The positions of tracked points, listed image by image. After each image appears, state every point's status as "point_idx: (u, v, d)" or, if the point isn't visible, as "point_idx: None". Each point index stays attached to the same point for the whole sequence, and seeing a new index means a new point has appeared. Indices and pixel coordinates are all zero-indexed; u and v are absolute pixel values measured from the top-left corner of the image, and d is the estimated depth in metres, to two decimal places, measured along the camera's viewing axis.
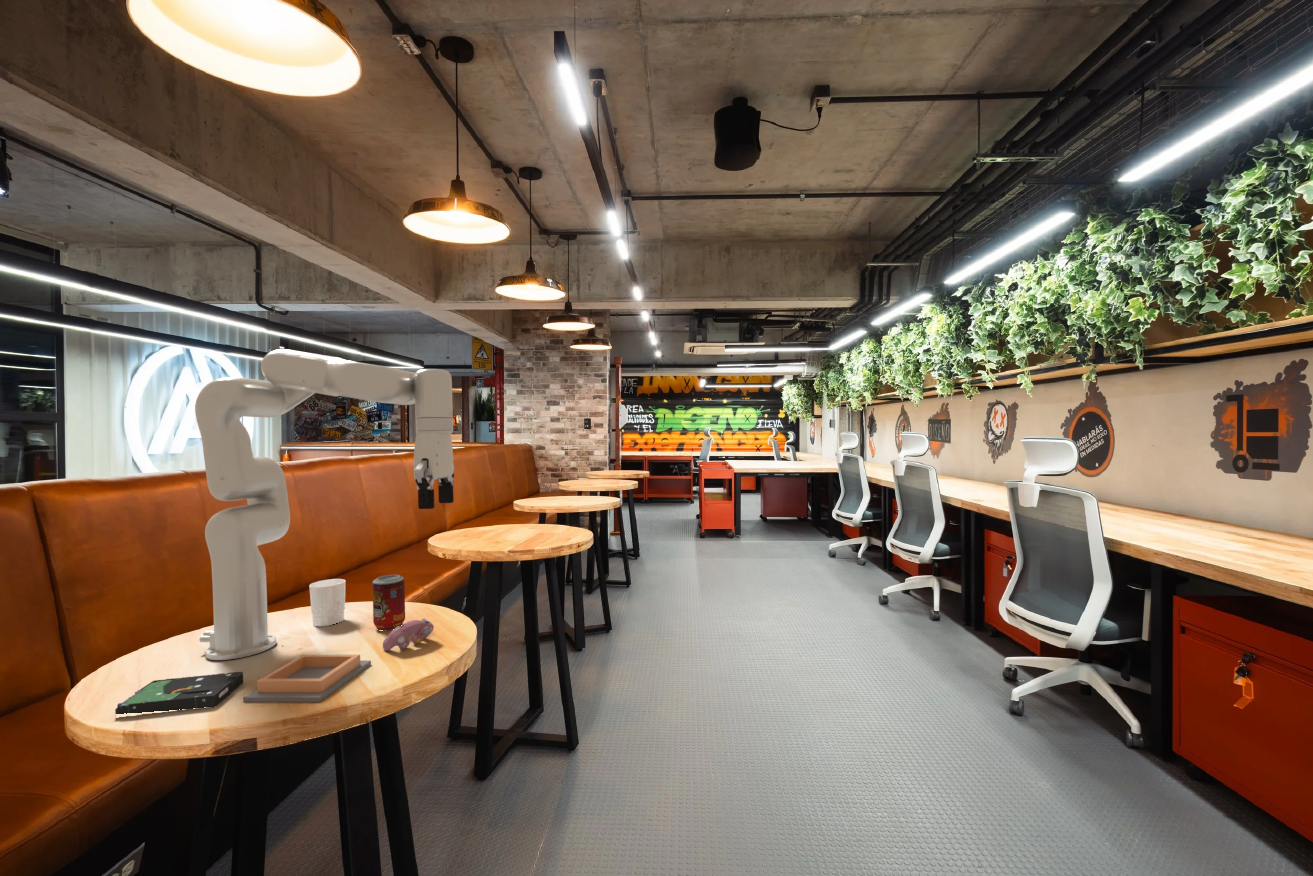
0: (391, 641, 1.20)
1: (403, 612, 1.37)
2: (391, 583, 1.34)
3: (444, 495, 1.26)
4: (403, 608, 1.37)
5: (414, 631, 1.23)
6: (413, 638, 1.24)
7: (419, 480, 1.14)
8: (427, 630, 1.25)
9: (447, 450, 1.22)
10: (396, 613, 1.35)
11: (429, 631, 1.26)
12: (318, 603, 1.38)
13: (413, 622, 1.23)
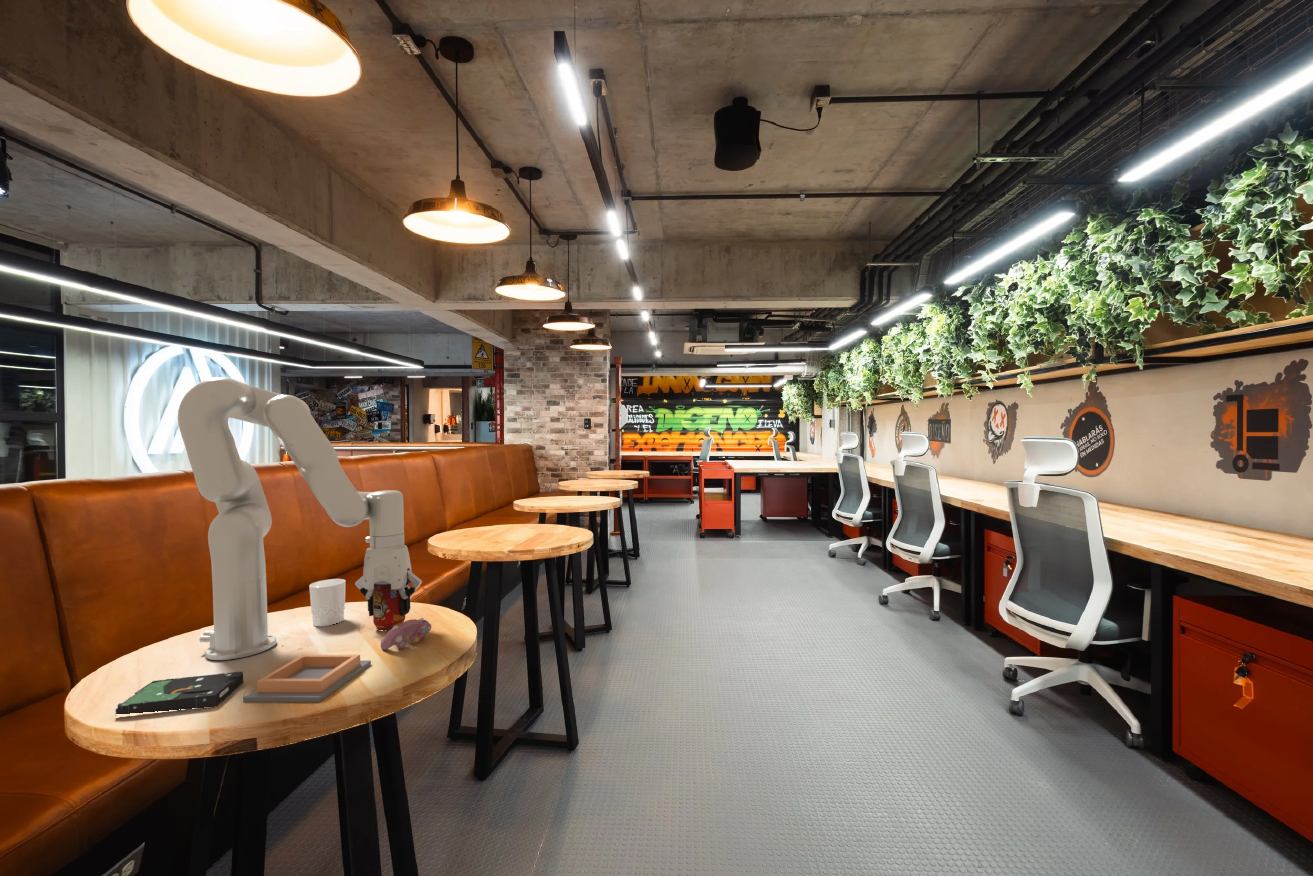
0: (389, 640, 1.20)
1: None
2: None
3: None
4: None
5: (412, 630, 1.24)
6: (411, 637, 1.25)
7: (415, 589, 1.36)
8: (425, 630, 1.26)
9: None
10: (396, 613, 1.35)
11: (427, 630, 1.26)
12: (318, 603, 1.38)
13: (411, 621, 1.24)
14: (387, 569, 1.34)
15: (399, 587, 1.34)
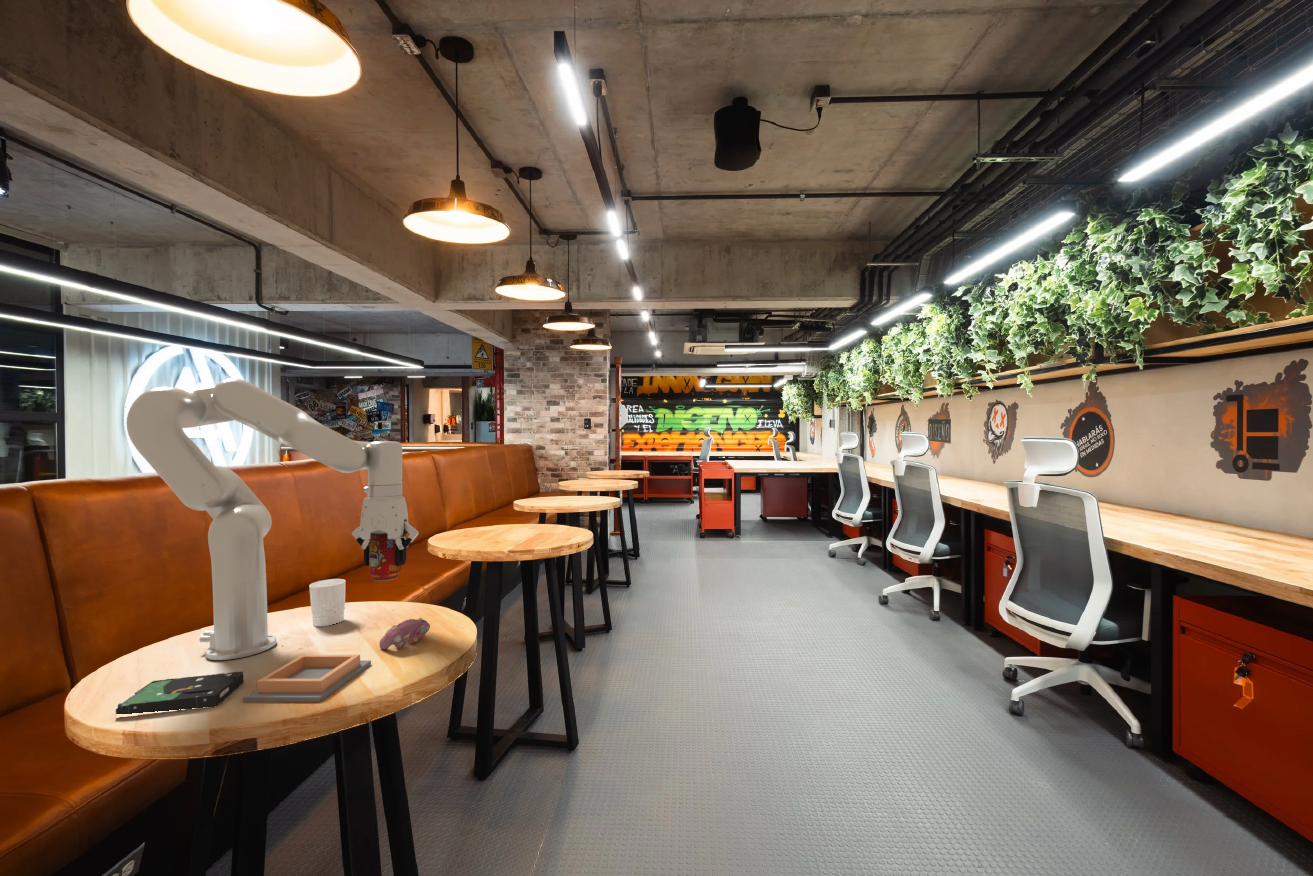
0: (388, 640, 1.20)
1: None
2: None
3: None
4: None
5: (411, 630, 1.24)
6: (410, 637, 1.25)
7: (412, 540, 1.36)
8: (424, 629, 1.26)
9: None
10: (392, 563, 1.34)
11: (426, 630, 1.27)
12: (318, 603, 1.38)
13: (410, 621, 1.24)
14: (384, 518, 1.34)
15: (396, 537, 1.33)
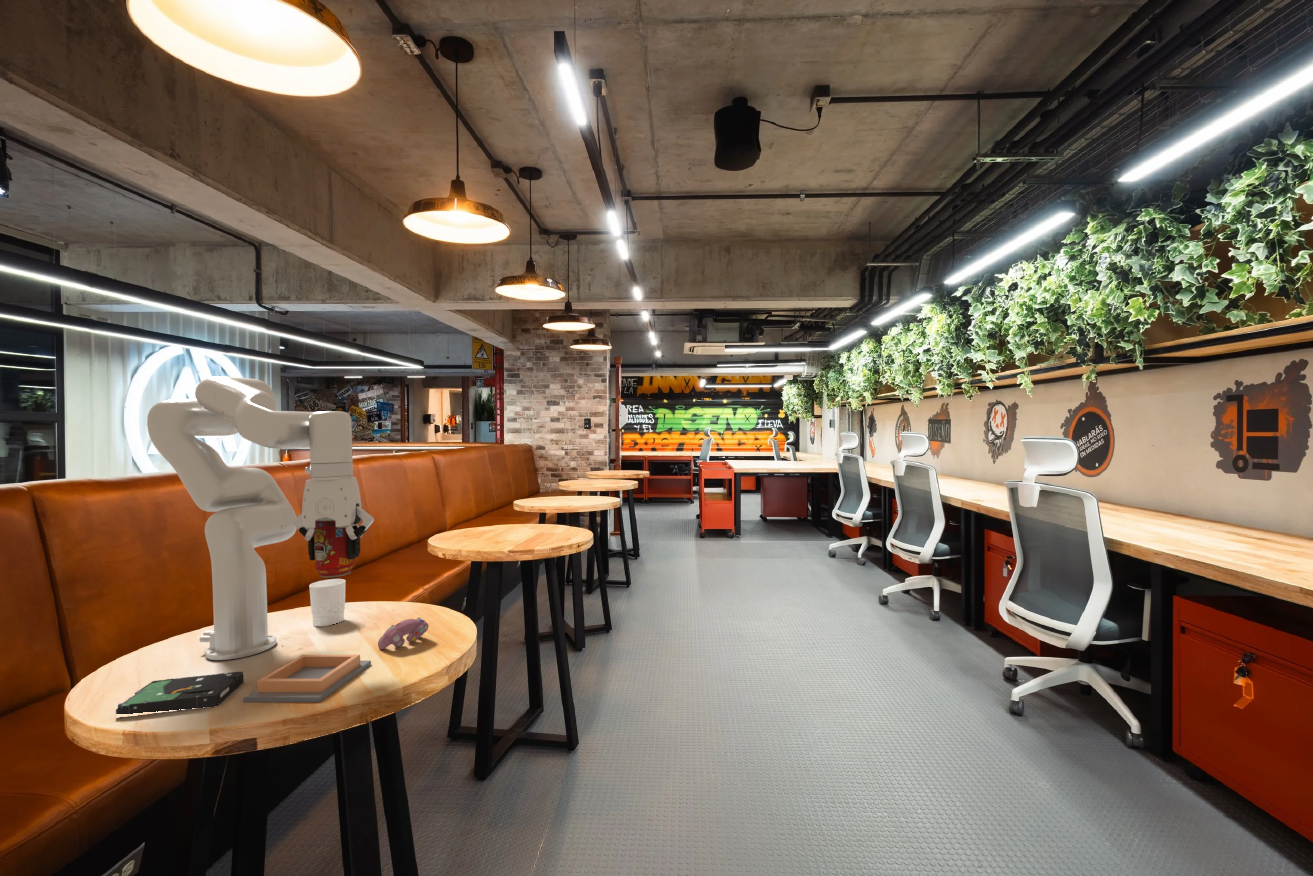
0: (386, 640, 1.20)
1: None
2: None
3: None
4: None
5: (409, 630, 1.24)
6: (408, 637, 1.25)
7: (366, 528, 1.15)
8: (422, 629, 1.26)
9: None
10: (343, 556, 1.13)
11: (424, 629, 1.27)
12: (318, 603, 1.38)
13: (408, 621, 1.24)
14: (331, 503, 1.12)
15: (346, 524, 1.12)
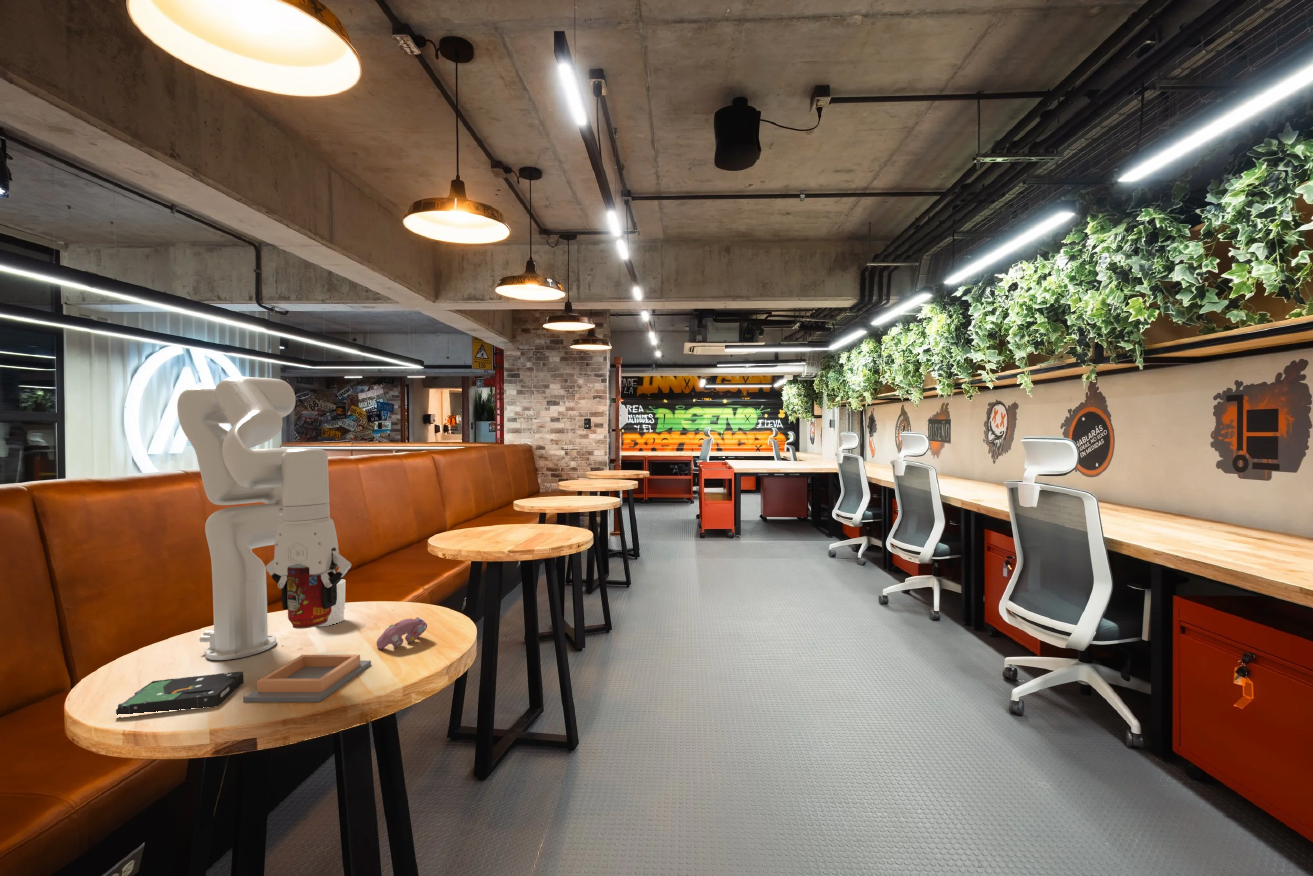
0: (385, 639, 1.21)
1: None
2: None
3: None
4: None
5: (408, 629, 1.24)
6: (407, 636, 1.25)
7: (343, 575, 1.06)
8: (421, 629, 1.26)
9: None
10: (317, 605, 1.04)
11: (423, 629, 1.27)
12: None
13: (407, 621, 1.24)
14: (304, 548, 1.04)
15: (320, 572, 1.04)
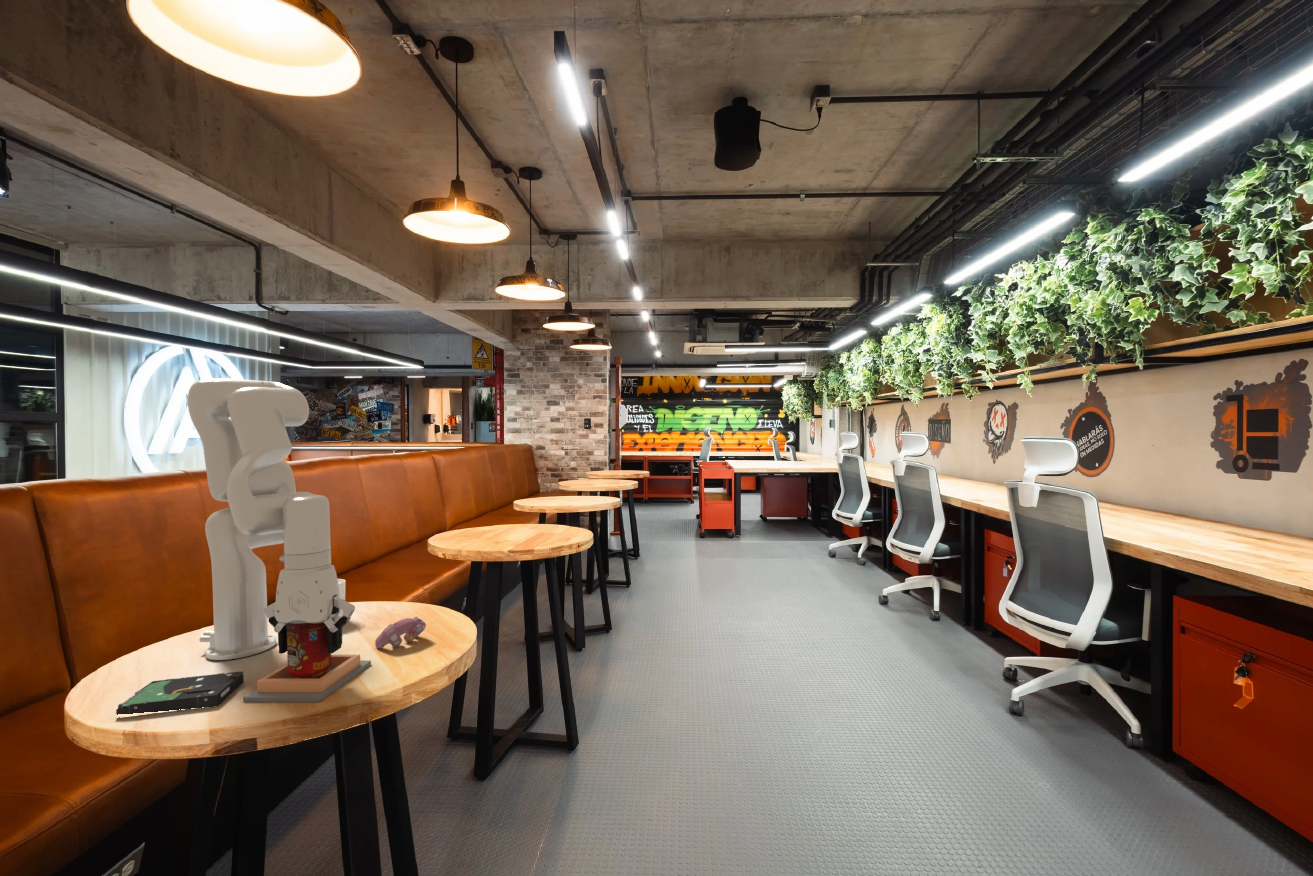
0: (384, 639, 1.21)
1: (327, 658, 1.07)
2: None
3: None
4: None
5: (406, 629, 1.25)
6: (405, 636, 1.26)
7: (348, 618, 1.06)
8: (420, 628, 1.27)
9: None
10: (317, 660, 1.05)
11: (421, 629, 1.27)
12: None
13: (405, 620, 1.24)
14: (306, 597, 1.04)
15: (321, 620, 1.04)
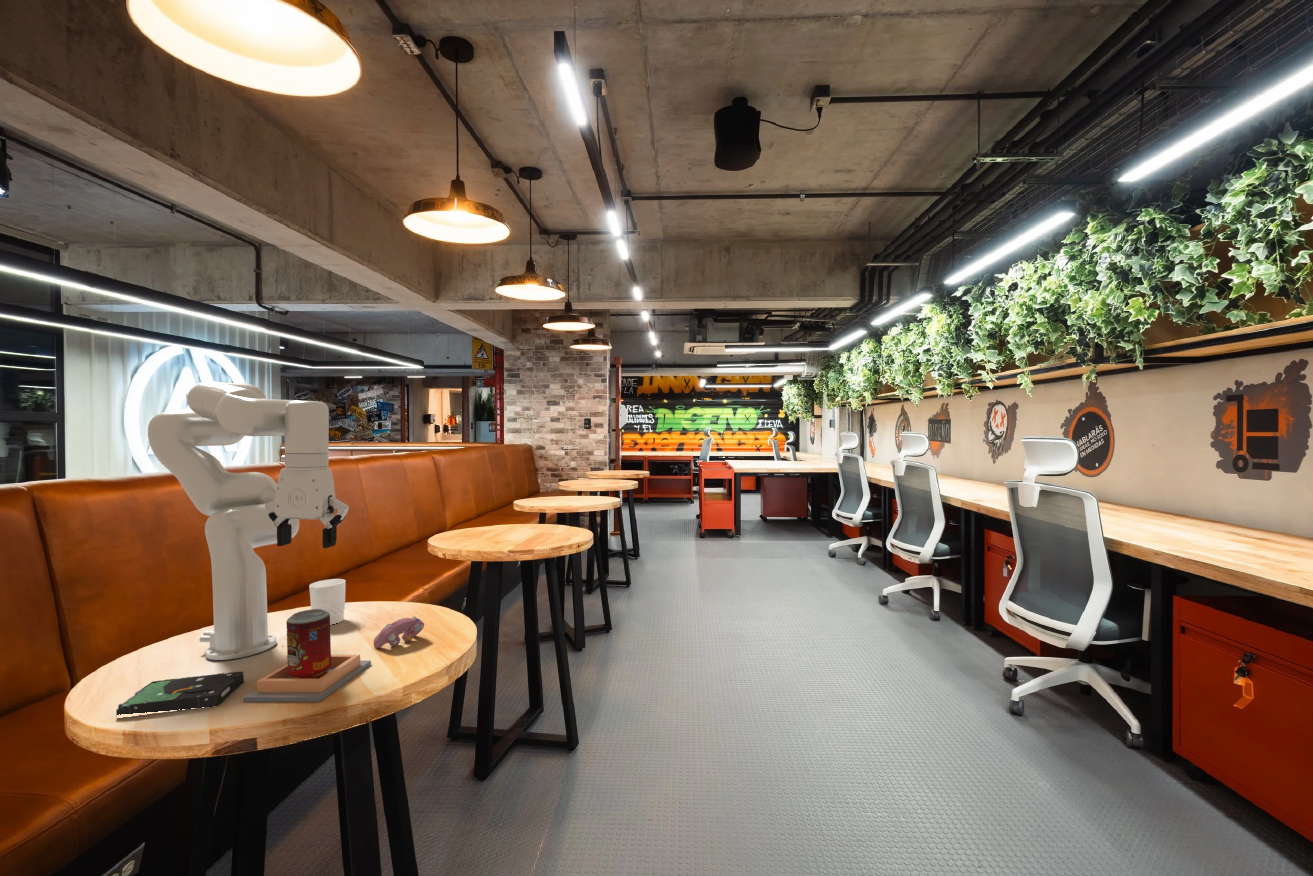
0: (382, 639, 1.21)
1: (327, 658, 1.07)
2: (310, 622, 1.04)
3: (285, 536, 1.14)
4: (328, 652, 1.07)
5: (405, 629, 1.25)
6: (404, 636, 1.26)
7: (343, 517, 1.13)
8: (418, 628, 1.27)
9: None
10: (317, 660, 1.05)
11: (420, 628, 1.28)
12: (318, 603, 1.38)
13: (404, 620, 1.25)
14: (303, 494, 1.11)
15: (316, 516, 1.11)
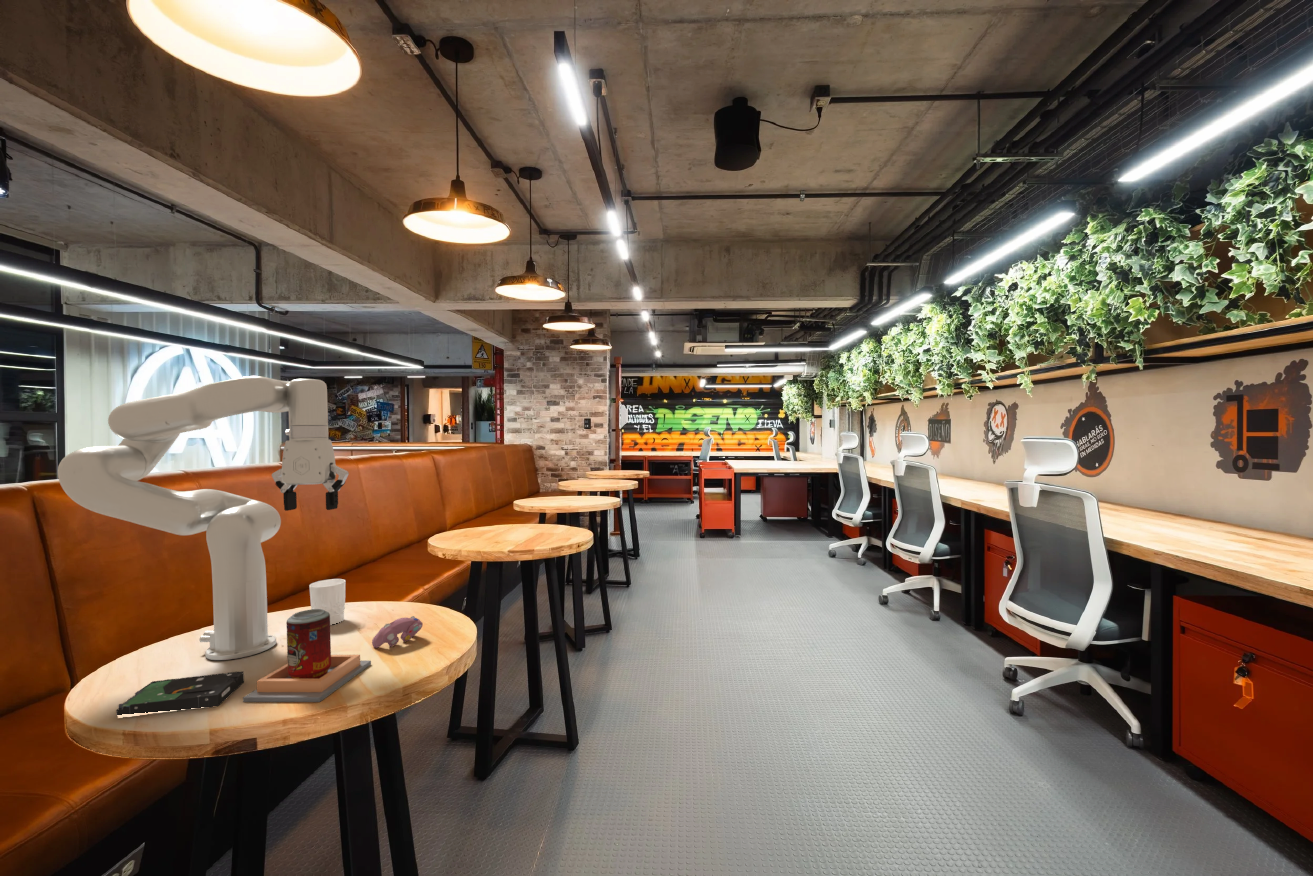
0: (381, 638, 1.21)
1: (327, 658, 1.07)
2: (310, 622, 1.04)
3: (291, 502, 1.27)
4: (328, 652, 1.07)
5: (403, 628, 1.25)
6: (402, 635, 1.26)
7: (343, 481, 1.27)
8: (416, 628, 1.27)
9: None
10: (317, 660, 1.05)
11: (418, 628, 1.28)
12: (318, 603, 1.38)
13: (402, 619, 1.25)
14: (307, 461, 1.24)
15: (320, 481, 1.24)
